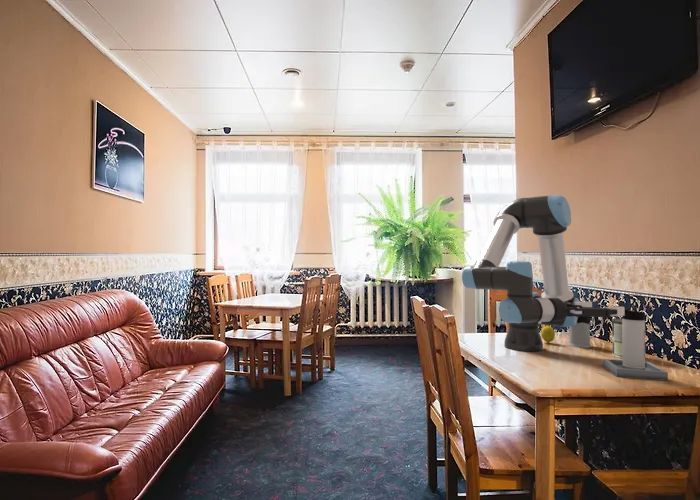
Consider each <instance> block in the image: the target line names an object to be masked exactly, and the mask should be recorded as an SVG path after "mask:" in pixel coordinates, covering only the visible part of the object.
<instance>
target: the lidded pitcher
mask: <svg viewBox="0 0 700 500" xmlns="http://www.w3.org/2000/svg"><path fill="white" fill-rule="evenodd" d="M600 318H601V325H600V327H599V329H598V330H597V331H596V333H595V334H592V335H591V336H590V334H591V333H590V332H591V328H590V327H591V326H590V325H592V324H594V319H595V317H591V323H590V317H585V316H579V317H578V319H577V322H576V324H575V326H573V327H568V331H569V333H568V335H569V338H568V339H569V340H568V344H567V345H568V346H569V347H573V348H581V349H582V348H583V349H584V348H585V349H586V348H587V349H589V347H590V348H591V347H592V345H591V344H590V342H591V340H592V338H594V337H595V336H597V335H598V334H599V333H600V332H601V330H602V329H603V325H604V317H600Z"/></svg>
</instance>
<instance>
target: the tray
mask: <svg viewBox="0 0 700 500" xmlns="http://www.w3.org/2000/svg"><path fill="white" fill-rule="evenodd" d="M622 364H623V363H622V359H615V358H614V359H613V358H611V359H610V358H602V367H603V368H605V369H606V370H607V371H609V372H610V373H611V374H613V375H614V376H615V377H617V378H619V377H620V378H630V379H631V378H632V379H643V378H644V380H645V379H646V380H657V381H658V380H660V381H669V378H668V377H669V374H668V371H666V370H664V369H662V368H661V367H659V366H657V365H655V364H654V363H652V362H650V361H645V370H640V369H626V368H622Z"/></svg>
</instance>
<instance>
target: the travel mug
mask: <svg viewBox="0 0 700 500" xmlns="http://www.w3.org/2000/svg"><path fill="white" fill-rule="evenodd" d="M624 312H625V316H621V317H622V318H621V319H622V320H623V321H622V358H621V360H622V363H623V364H622V368H626V369H640V370H645V362H646V318H645V317H646V316H645V315H646V313H645V312H641V311H638V310H636V311H635V310H630V309H626V308H624Z"/></svg>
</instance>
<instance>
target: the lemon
mask: <svg viewBox="0 0 700 500" xmlns="http://www.w3.org/2000/svg"><path fill="white" fill-rule="evenodd" d="M540 336H541V339H542V341H545V342H546V343H547V344H549V343H551V342H553V341H554V339H555V338H556V333H555V329H554V328H553V326H551V325H544V327H543V328H542V329H541V332H540Z"/></svg>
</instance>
